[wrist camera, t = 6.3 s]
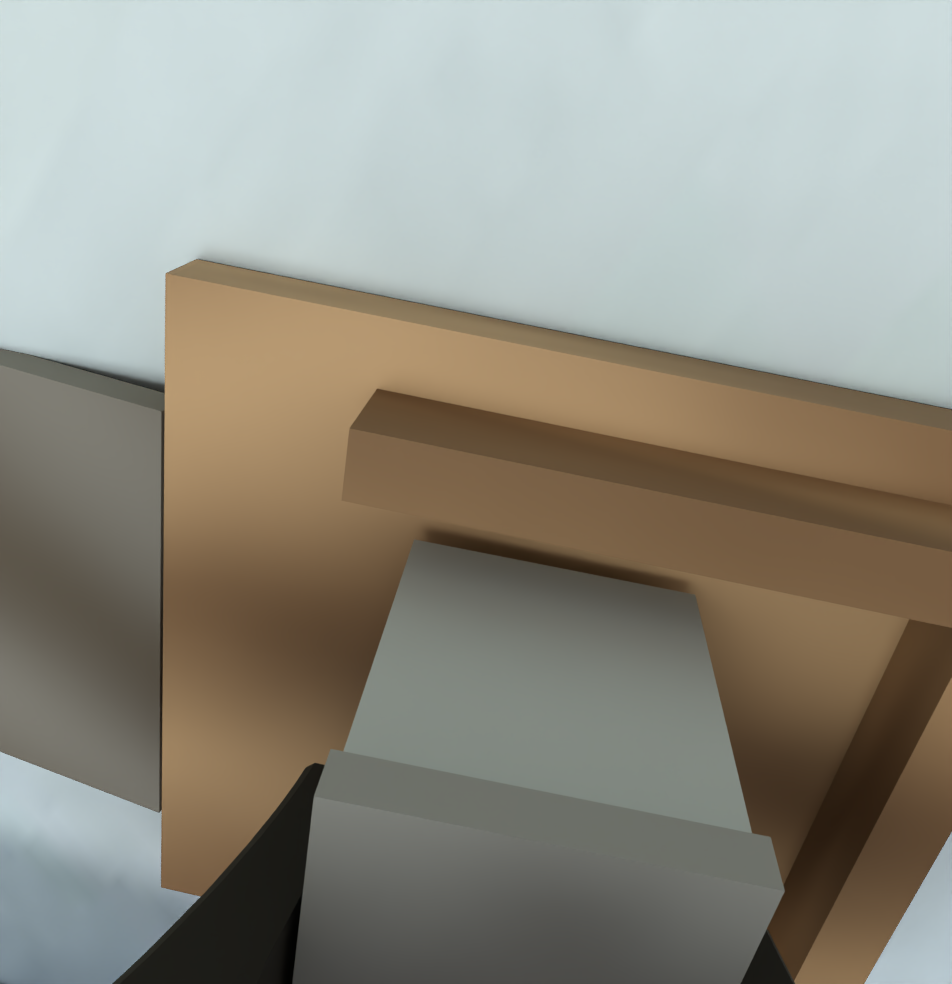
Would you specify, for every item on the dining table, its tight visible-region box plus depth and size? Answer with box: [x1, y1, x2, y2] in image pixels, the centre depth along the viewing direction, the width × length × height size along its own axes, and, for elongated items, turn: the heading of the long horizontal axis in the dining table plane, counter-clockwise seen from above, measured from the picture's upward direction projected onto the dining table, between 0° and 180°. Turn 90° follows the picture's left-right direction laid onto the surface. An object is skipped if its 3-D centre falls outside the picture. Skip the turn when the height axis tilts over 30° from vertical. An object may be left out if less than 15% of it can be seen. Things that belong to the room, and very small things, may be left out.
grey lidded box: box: [292, 539, 785, 984], centre depth 11 cm, size 6×4×5 cm
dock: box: [0, 259, 952, 984], centre depth 14 cm, size 12×18×3 cm, turn 80°
